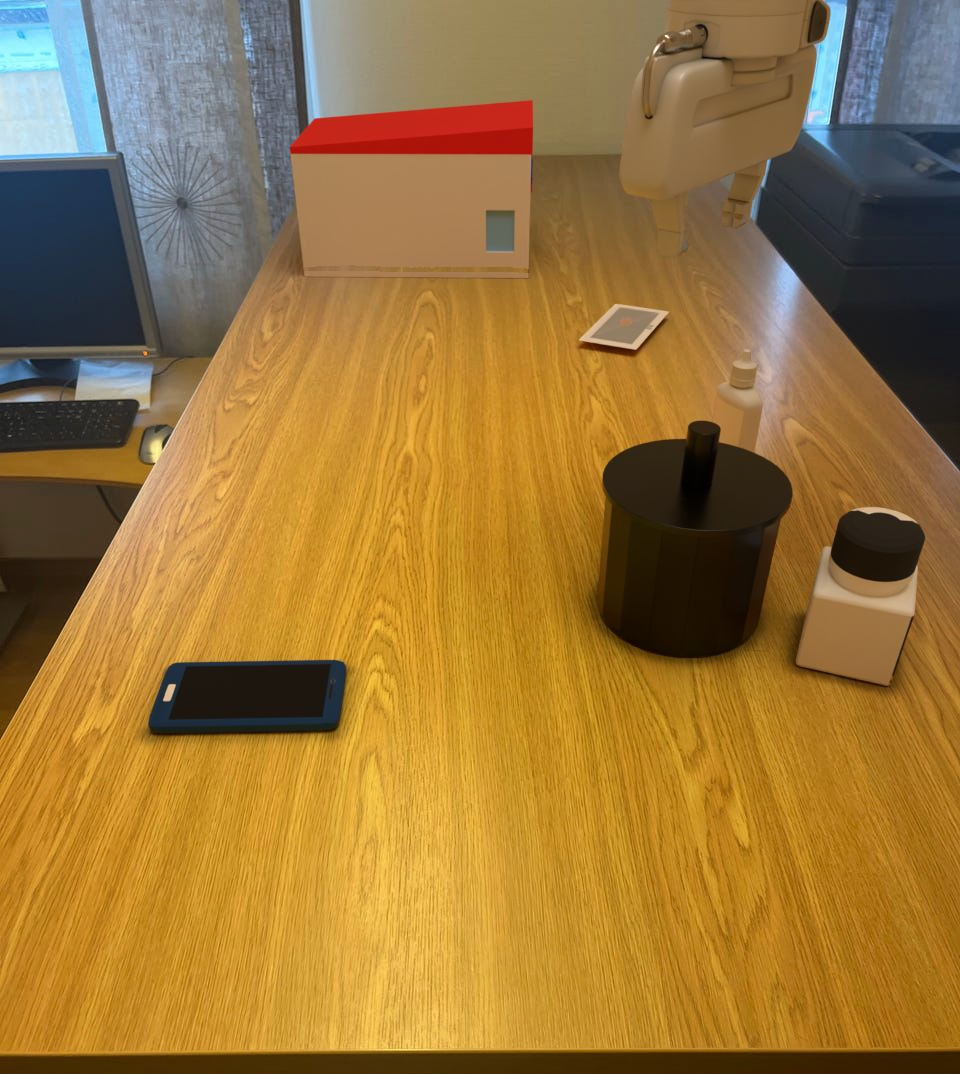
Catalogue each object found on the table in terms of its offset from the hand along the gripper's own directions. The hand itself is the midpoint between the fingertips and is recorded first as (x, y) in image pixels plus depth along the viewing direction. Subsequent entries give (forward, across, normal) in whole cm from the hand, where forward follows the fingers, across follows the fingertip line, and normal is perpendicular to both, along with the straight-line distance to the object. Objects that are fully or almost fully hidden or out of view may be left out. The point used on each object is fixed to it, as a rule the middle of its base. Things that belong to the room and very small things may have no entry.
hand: (703, 239), depth 72 cm
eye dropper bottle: (+28, +20, +4) cm, 34 cm away
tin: (+28, -7, -6) cm, 29 cm away
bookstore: (+28, +52, +76) cm, 96 cm away
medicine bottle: (+28, -3, -19) cm, 34 cm away
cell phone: (+28, -37, +14) cm, 48 cm away
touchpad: (+28, +44, +32) cm, 61 cm away
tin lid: (+16, -7, -6) cm, 18 cm away
